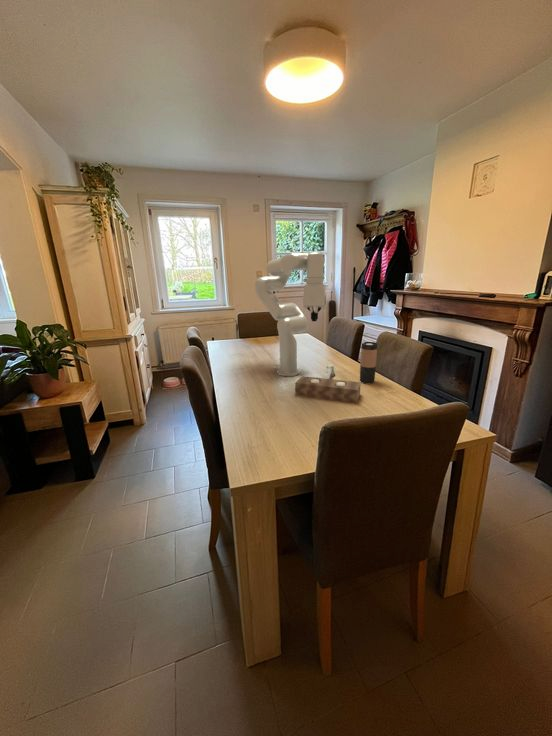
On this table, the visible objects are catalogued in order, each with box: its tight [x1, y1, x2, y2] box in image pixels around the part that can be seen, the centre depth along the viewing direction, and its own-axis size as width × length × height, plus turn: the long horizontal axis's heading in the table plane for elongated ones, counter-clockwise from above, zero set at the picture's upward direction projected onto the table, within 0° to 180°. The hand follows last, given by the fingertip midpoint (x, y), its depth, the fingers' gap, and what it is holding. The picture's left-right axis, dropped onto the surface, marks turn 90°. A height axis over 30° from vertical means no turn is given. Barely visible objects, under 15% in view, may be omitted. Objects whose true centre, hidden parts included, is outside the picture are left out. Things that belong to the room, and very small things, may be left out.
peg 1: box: [311, 379, 319, 383], centre depth 143 cm, size 4×4×6 cm
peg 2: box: [336, 382, 345, 386], centre depth 138 cm, size 4×4×6 cm
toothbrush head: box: [321, 363, 336, 379], centre depth 159 cm, size 5×7×25 cm
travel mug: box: [359, 341, 378, 384], centre depth 154 cm, size 8×8×20 cm
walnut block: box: [294, 375, 362, 404], centre depth 140 cm, size 28×10×6 cm, turn 68°
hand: (314, 320), depth 146 cm, fingers closed
